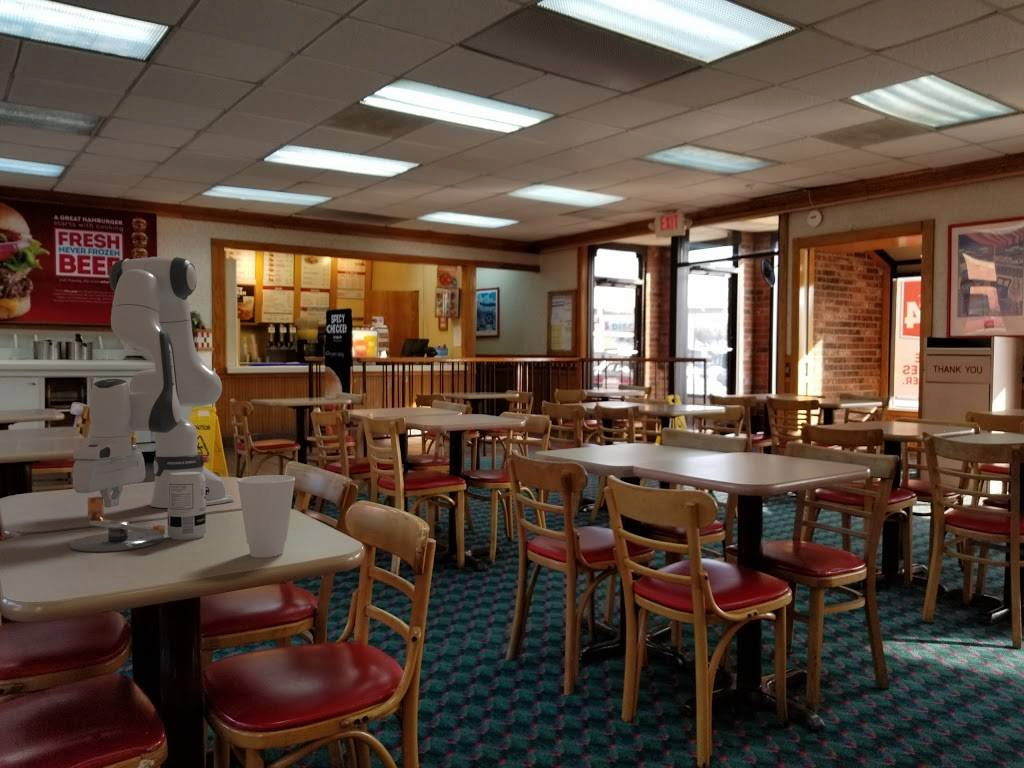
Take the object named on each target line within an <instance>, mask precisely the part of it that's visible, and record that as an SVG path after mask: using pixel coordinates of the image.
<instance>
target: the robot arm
mask: <svg viewBox="0 0 1024 768" xmlns="http://www.w3.org/2000/svg"><path fill="white" fill-rule="evenodd" d="M108 280H109V286H110V288H111V290H112V291H113V292H114V295H113V299H112V306H111V313H110V314H111V315H110V327H111V330H112V332H113V334H114V336H115V337H116V338H117V339H119V340H120V341H121V342H122V343H124V344H126V345H128V346H130V347H131V348H134V349H137V350H140V351H143V352H145V353H148V354H149V355H151V356H152V358H153V360H154V368H150V369H143V370H139V371H137V372H135V373H134V375H133V376H132V378H130V379H131V380H130V382H129V383H128V382H127V380H126V379H125V380H124V379H122V378H110V379H109V378H108V379H107V378H106V379H101V380H97V381H96V382H94V383H93V384H92V386H91V390H90V391H91V392H90V395H89V396H90V397H89V399H90V400H89V421H90V423H91V429H90V432H89V440H88V441H87V442H85V443H84V444H82V445H81V446H78V447H77V448H75V449H74V450H73V452H72V457H73V459H74V460H75V462H74V463H73V466H72V486H73V487H72V488H73V489H74V491H75V493H79V494H80V493H81V494H89V493H90V494H91V493H95V492H99V494H100V497H103V507H104V508H112V507H117V506H119V505H120V498H121V496H122V493H123V490H124V489H123V488H124V487H123V486H127V485H132V484H137V483H140V482H144V481H145V478H146V466H145V459H144V456H143V453H142V452H143V451H142V449H141V447H140V446H138V445H137V444H132V432H152V433H154V441H155V456H154V459H153V474H154V486H153V493H152V497H151V501H150V504H149V506H150V507H152V508H153V507H154V508H158V509H159V508H160V509H162V508H163V509H168V500H167V480H168V478H169V476H170V473H173V472H180V471H201V472H202V473H203V475H204V477H205V498H206V506H210V505H211V506H212V505H219V504H225V503H232V502H234V501H235V498H234V496H233V495H231V494H227V491H226V485H225V482H224V479H222V478H221V477H220V476H218V475H217V474H216V473H214V472H213V471H211V470H210V469H208V468H207V467H206V466H205V464H208V463H210V461H211V458H210V456H209V455H201V454H199V453H198V430H197V427H196V426H195V424H194V423H193V422H191V421H190V420H188V419H186V418H184V417H183V416H182V407H183V408H184V407H186V408H187V407H191V408H194V407H195V408H197V407H205V406H208V405H209V406H210V405H212V404H215V403H216V402H217V401H218V400H219V398H220V397H221V395H222V393H223V385H222V384H223V383H222V381H221V377H220V376H219V375H218V374H217V373H216V371H214V370H212V369H211V368H210V367H208V365H206V363H205V362H204V361H203V359H202V358H201V357H200V355H199V353H198V351H197V348H196V345H195V341H194V336H193V328H192V327H193V326H192V316H191V310H190V309H191V308H190V304H189V299H188V298H189V296H191V295H192V294H193V292H194V291H195V290H196V287H197V284H198V283H197V282H198V281H197V280H198V276H197V272H196V268H195V266H194V263H192V262H191V261H190V260H189V259H187V258H184V257H178V256H177V257H165V256H150V257H137V258H132V259H130V258H124V259H118V260H116V261H115V262H114V263H113V264H112V266H111V267H110V269H109V274H108Z"/></svg>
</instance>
